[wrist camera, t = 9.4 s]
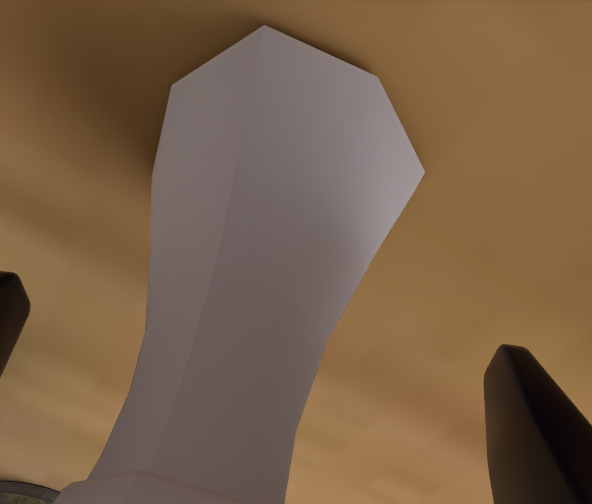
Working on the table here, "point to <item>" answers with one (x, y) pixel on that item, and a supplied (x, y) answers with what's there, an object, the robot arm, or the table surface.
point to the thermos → (25, 494)
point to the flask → (250, 267)
